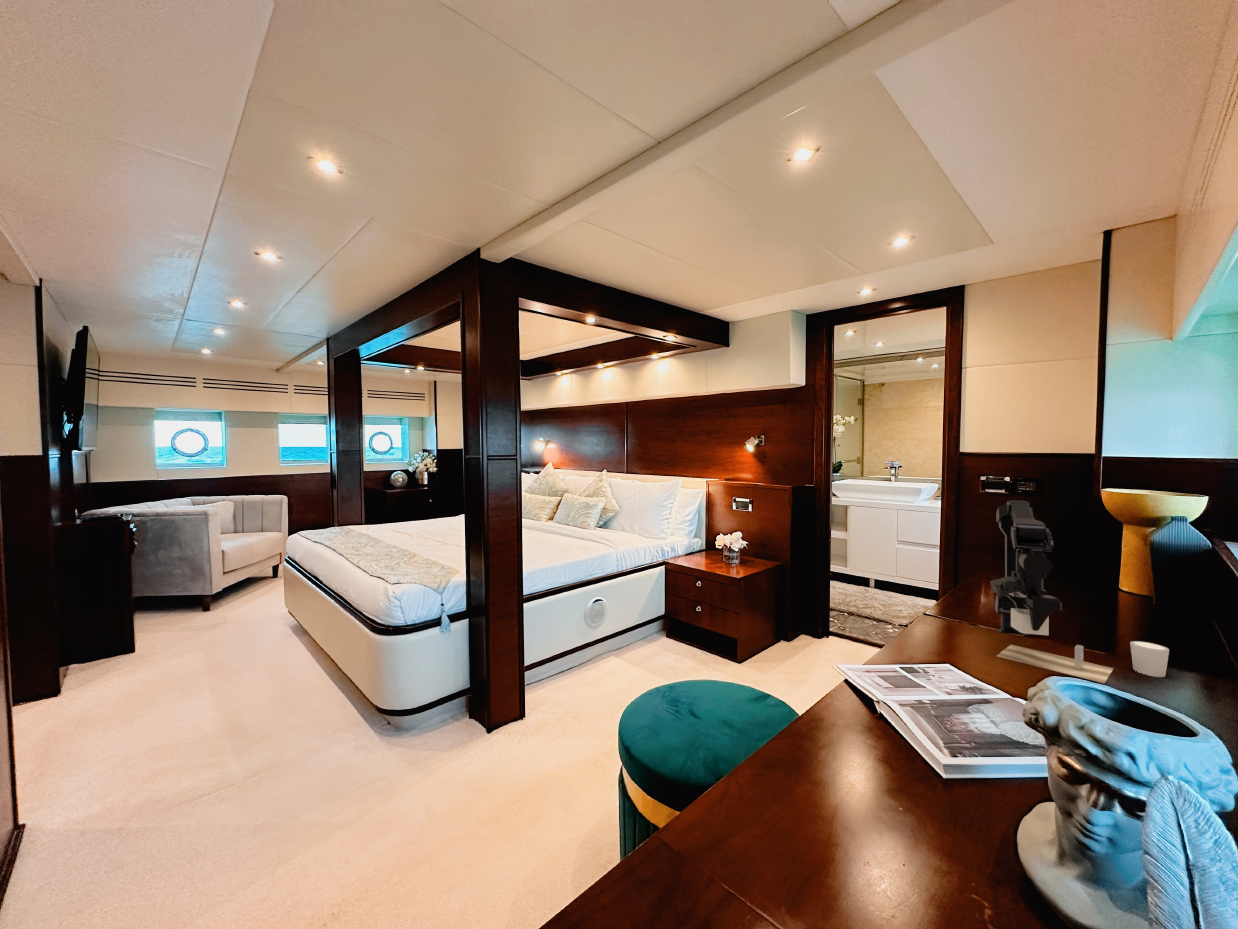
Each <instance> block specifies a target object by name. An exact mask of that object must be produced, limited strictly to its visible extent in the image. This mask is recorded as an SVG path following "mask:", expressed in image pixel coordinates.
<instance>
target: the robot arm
mask: <svg viewBox="0 0 1238 929" xmlns="http://www.w3.org/2000/svg"><path fill="white" fill-rule="evenodd" d="M1033 515H1034V513H1033V508H1032V507H1031V506H1030V502H1029V501H1026V500H1012V499H1011V500H1009V501H1008V500H1007V502H1006V503H1005V504H1003V505H1001V506H998V507H997V510H996V515H995V516H996V523H998V528H999V529H1000V531H1001V532H1002V533H1003V535H1004V549H1005V550H1004V570H1005V573H1004V577H1001V578H997V579H993V580H990V582H989V583H990V585H991V587H992V591H993V593H994V594H996V598H995V601H994V610H995V612H996V614H997V615H1000V616H1001V617H1000V618H1001V620H1000V626H1001V627H1000V628H999V629H998V630H997V633H1000V634H1001V633H1002V634H1014V635H1024V636H1025V635H1026V636H1027V635H1029V634H1026V633H1021V632H1019V631H1018V630H1016V629H1014V628H1013V627H1011V608H1015V609H1028V610H1029V611H1030V618H1031V624H1032V629H1033V630H1034V631H1038V630H1039V629H1040V627H1041V626H1042V624H1043V623H1044V622H1045V620H1046V619H1047V617H1048V616H1049V617H1050V615H1051V614H1052V613H1053V612H1054V611H1062V610H1063V602H1062V601H1061V600H1060V599H1059V598H1057V597H1055V596H1054V595H1053V596H1052V595H1049V594H1048V591H1047V590H1045V589H1044V580H1048V575H1049V574H1050V573H1051V572H1052V571H1053V564H1052V563H1053V562H1052V560H1050V558H1048V557H1047V556H1046V555H1045V552H1052V551H1053V548H1054V547H1055V544H1054V540H1053V536H1052V532H1051V531H1050V529H1049V528H1047V527H1046V524H1045V523H1044V522H1043V521H1040V520H1037V519H1035V518H1034V516H1033Z"/></svg>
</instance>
